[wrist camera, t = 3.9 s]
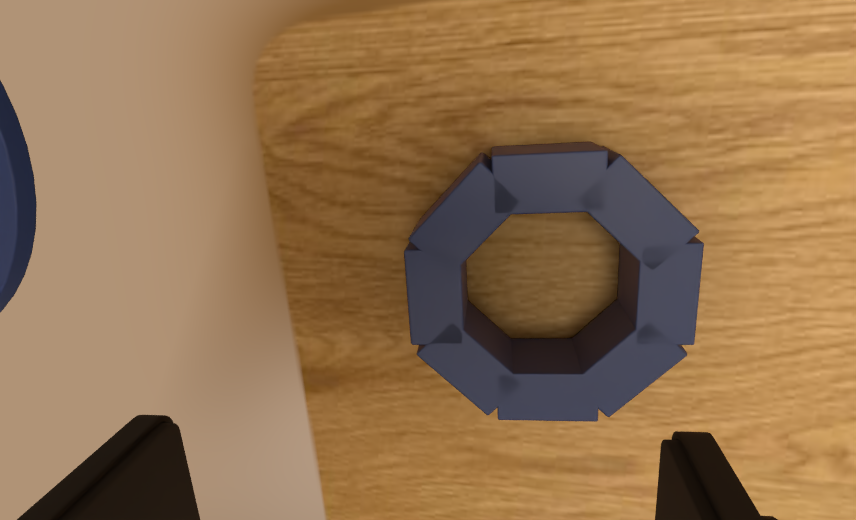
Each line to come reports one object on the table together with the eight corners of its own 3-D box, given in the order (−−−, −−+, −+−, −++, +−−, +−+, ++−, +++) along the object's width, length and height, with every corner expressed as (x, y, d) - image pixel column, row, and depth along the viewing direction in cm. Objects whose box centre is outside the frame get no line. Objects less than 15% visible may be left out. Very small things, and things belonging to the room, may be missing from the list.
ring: (425, 379, 24) (416, 418, 21) (409, 150, 21) (396, 160, 18) (662, 381, 22) (687, 423, 19) (681, 137, 19) (713, 145, 16)
